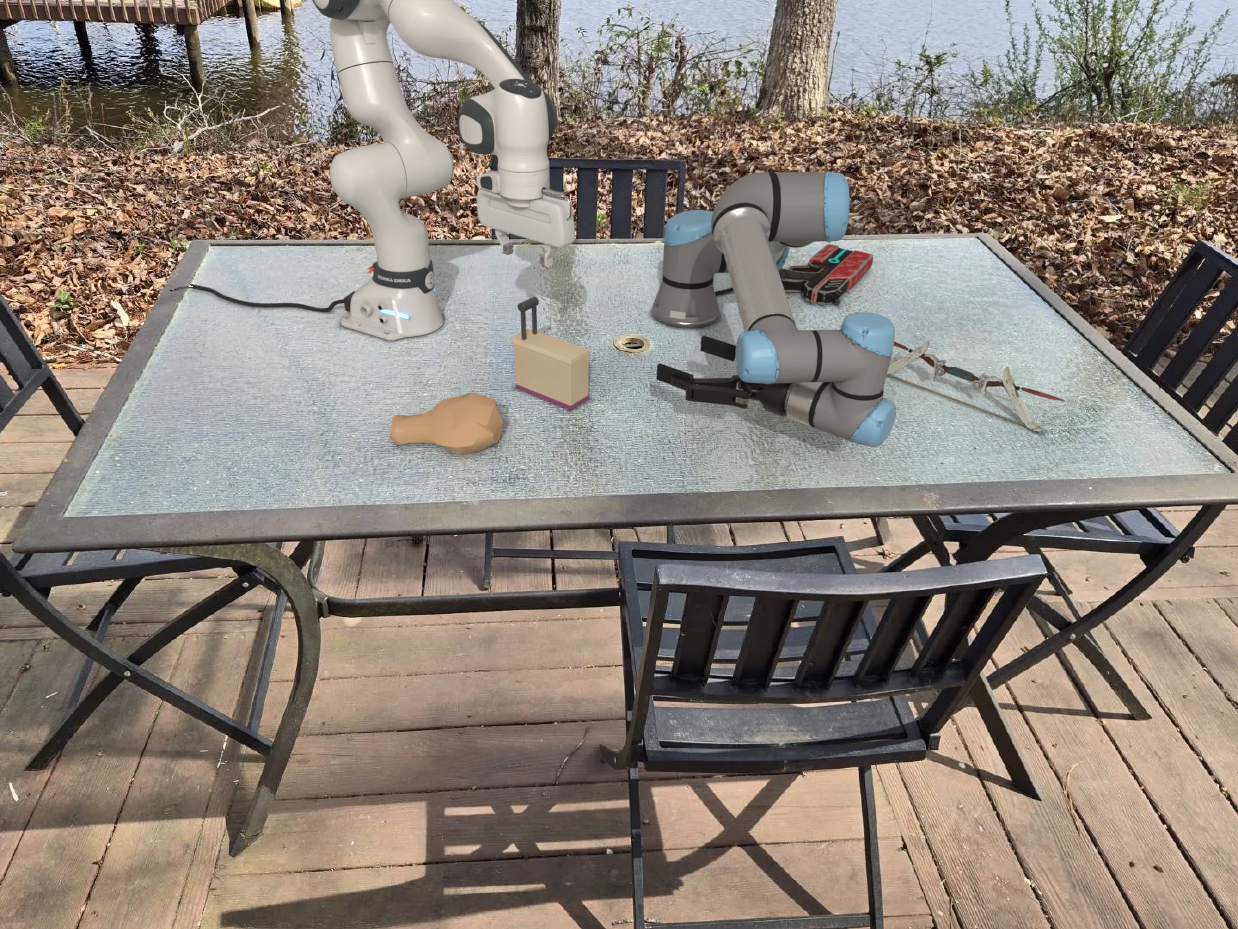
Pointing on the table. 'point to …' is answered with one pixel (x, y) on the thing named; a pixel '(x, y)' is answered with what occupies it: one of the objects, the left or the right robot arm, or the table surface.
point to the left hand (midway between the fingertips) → (526, 259)
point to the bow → (978, 382)
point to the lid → (544, 338)
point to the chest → (552, 378)
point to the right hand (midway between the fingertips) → (680, 356)
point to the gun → (827, 274)
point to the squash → (452, 425)
